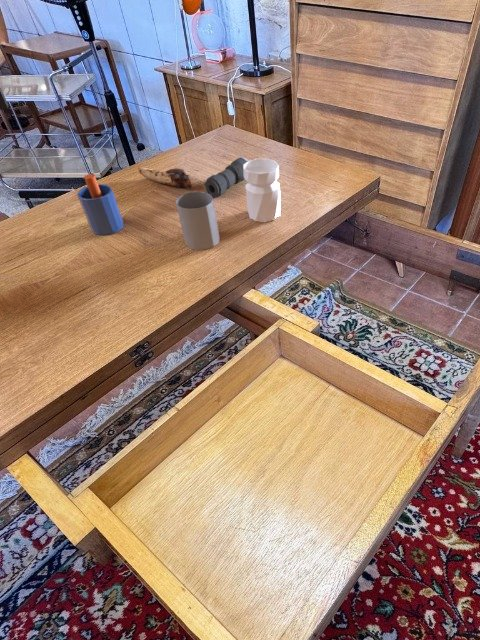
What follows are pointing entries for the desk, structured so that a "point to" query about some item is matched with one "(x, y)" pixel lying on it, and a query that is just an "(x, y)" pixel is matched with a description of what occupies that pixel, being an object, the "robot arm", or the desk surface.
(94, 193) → the handle
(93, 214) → the blue cup
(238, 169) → the flashlight
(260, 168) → the vase
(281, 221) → the desk surface
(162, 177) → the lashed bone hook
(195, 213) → the cup
